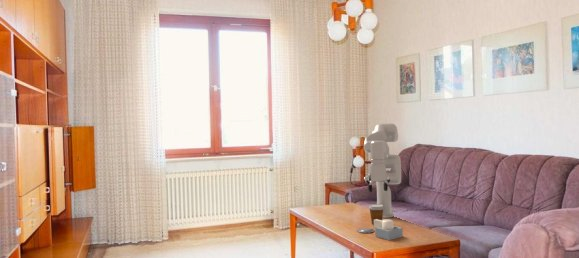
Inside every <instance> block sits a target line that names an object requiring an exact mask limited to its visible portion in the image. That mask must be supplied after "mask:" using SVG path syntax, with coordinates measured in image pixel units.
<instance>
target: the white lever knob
mask: <svg viewBox="0 0 579 258" xmlns="http://www.w3.org/2000/svg"><path fill="white" fill-rule="evenodd" d="M394 224H395V223H394V220H393V219H389V218H385V219H382V220H378V219H375V220H374V225H373V230H375V228H381V229H385V230H392V229H394V226H395V225H394Z"/></svg>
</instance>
